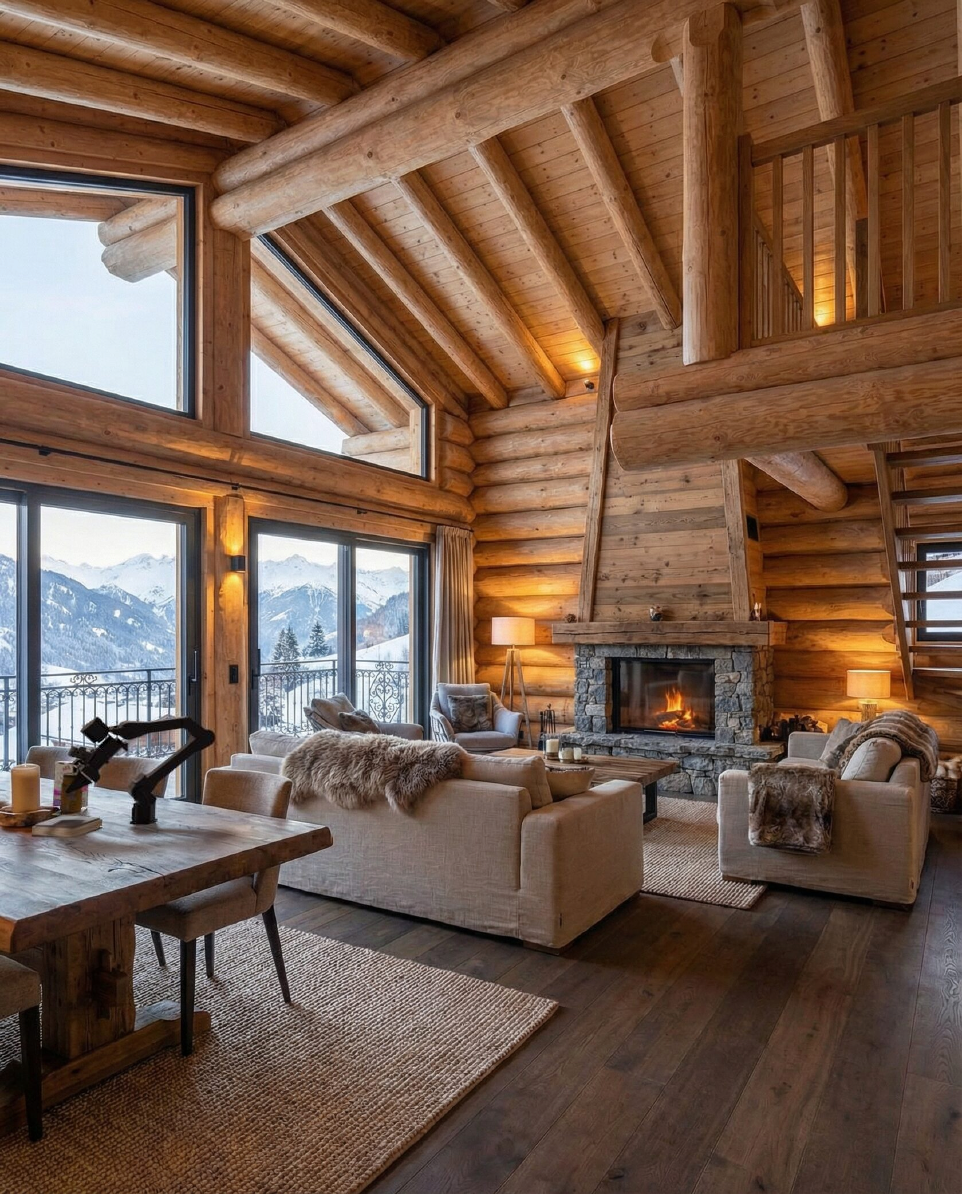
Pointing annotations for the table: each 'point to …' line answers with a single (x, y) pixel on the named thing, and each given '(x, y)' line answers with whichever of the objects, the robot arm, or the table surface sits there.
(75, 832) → the birch base
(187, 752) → the robot arm
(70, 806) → the condiment
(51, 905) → the table surface
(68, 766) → the candy bar box
